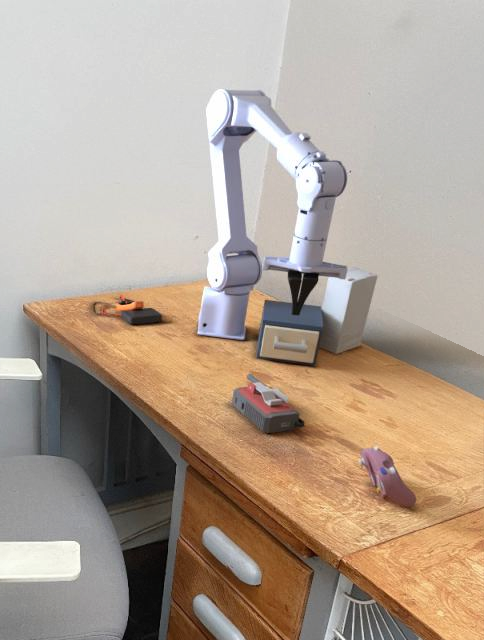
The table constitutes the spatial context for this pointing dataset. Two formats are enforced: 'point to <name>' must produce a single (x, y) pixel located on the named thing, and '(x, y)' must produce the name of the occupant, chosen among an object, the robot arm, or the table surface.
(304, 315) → the cabinet
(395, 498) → the video game controller
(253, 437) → the table surface
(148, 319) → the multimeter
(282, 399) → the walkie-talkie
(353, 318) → the cosmetic box
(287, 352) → the drawer
